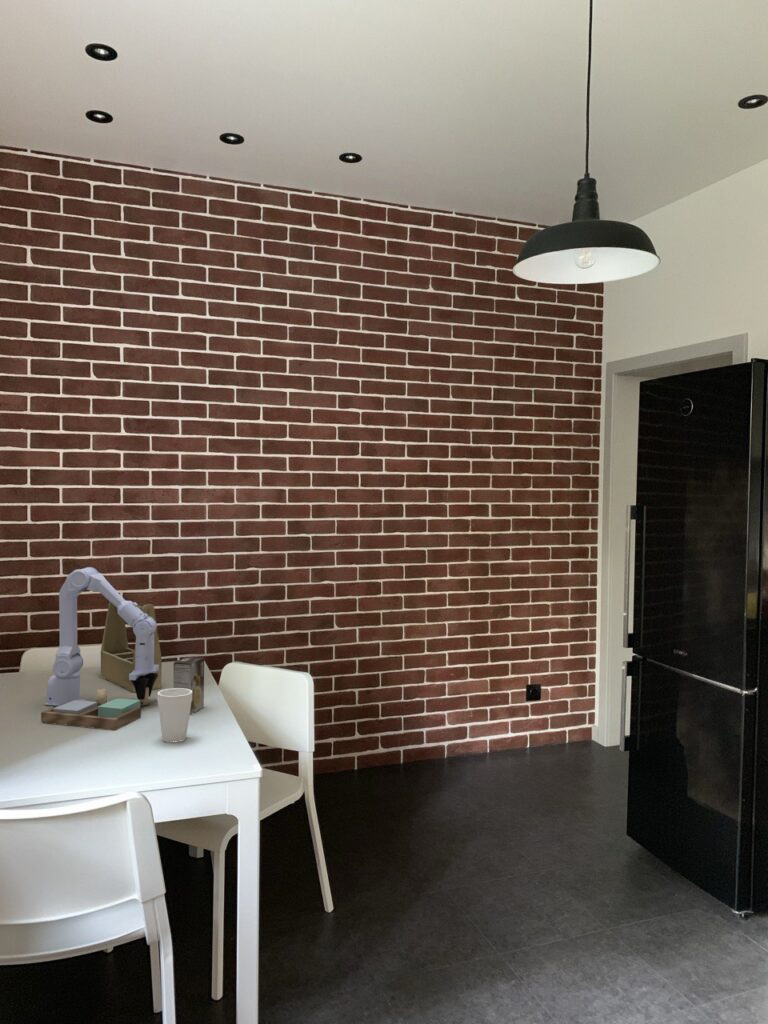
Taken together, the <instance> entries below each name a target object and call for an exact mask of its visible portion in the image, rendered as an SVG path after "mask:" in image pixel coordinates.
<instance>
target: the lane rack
mask: <svg viewBox="0 0 768 1024" xmlns="http://www.w3.org/2000/svg"><path fill="white" fill-rule="evenodd" d="M69 702H71V701H69ZM66 703H68V702H66ZM66 703H64V704H66ZM64 704H61V705H64ZM61 705H59V706H61ZM102 705H103V704H102ZM59 706H54V707H52V708H49V709H46V710H44V711H41V712H40V722H46V723H45V724H50V723H56V724H55V725H60V724H67V725H66V726H69V725H75V726H74V727H79V726H84V727H83V728H89V727H94V728H93V729H98V728H101V729H102V730H108V729H112V730H111V731H117V730H118V728H119V729H120V727H121V728H122V726H123V727H124V725H125V726H127V725H128V723H129V724H130V722H131V723H132V721H133V722H135V721H136V719H137V720H139V719H141V718H142V707H141V706H140V707H136V708H134V709H132V710H129V711H127V712H125V713H123V714H121V715H119V716H117V717H115V718H110V717H100V716H98V706H97V707H95V708H93V709H90V710H88V711H86V712H83V713H81V714H69V713H59V712H53V709H54V708H56V707H59ZM100 706H101V705H100ZM140 717H141V718H140ZM138 718H139V719H138ZM134 720H135V721H134ZM126 724H127V725H126ZM101 729H100V730H101ZM116 729H117V730H116Z"/></svg>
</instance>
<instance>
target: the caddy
mask: <svg viewBox="0 0 768 1024" xmlns="http://www.w3.org/2000/svg"><path fill="white" fill-rule="evenodd" d="M108 601H109V600H108ZM137 607H138V608H139V609H140V610H141V611H142V612H143V613H144V614H147V615H148V616H147V617H152V618H154V620H155V622H156V624H157V625H158V623H157V618H156V612H155V606H154V605H153V604H151V603H149V604H147V603H146V604H143V605H137ZM127 634H128V633H127V629H126V621H125V620H124V619H123V618H122V617H121V616H120V615H119V614H118V610H117V607H116V606H115V605H113V604H112V603H111V602H110V601H109V602H108V608H107V613H106V618H105V624H104V630H103V636H102V642H101V647H100V677H101V676H102V677H104V678H105V679H104V678H103V679H104V680H106V679H107V680H106V681H108V680H109V681H108V682H110V681H111V682H110V683H112V682H114V683H113V684H115V683H116V684H115V685H117V686H119V687H121V686H122V687H121V688H123V687H124V688H123V689H126V690H128V691H130V692H132V693H136V691H135V688H134V685H133V683H132V682H131V680H129V674H130V673H132V672H133V671H134V670H135V655H136V644H135V646H134V649H132V648H129V639H128V635H127ZM152 634H153V633H152ZM159 639H160V638H159V633H158V627H157V628H156V630H155V632H154V665H159V671H157V672H155V673H157V674H158V677H157V678H156V680H155V682H154V685H153V688H152V690H157V689H161V688H162V668H163V667H162V664H163V663H162V661H163V660H162V651H161V646H160V640H159ZM102 677H101V678H102Z"/></svg>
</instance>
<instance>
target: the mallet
mask: <svg viewBox="0 0 768 1024" xmlns="http://www.w3.org/2000/svg"><path fill="white" fill-rule="evenodd" d="M149 701H150V700H149V688H148V687H146V692H145V698H144V699H143V700H142V699H129V698H119V697H118V698H114V699H113V700H110V701H107V703H105V704H103V705H101V706H98V716H100V717H110V718H115V717H117V716H119V715H121V714H123V713H125V712H127V711H129V710H132V709H134V708H136V707H140V708H141V706H148V705H149Z"/></svg>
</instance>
